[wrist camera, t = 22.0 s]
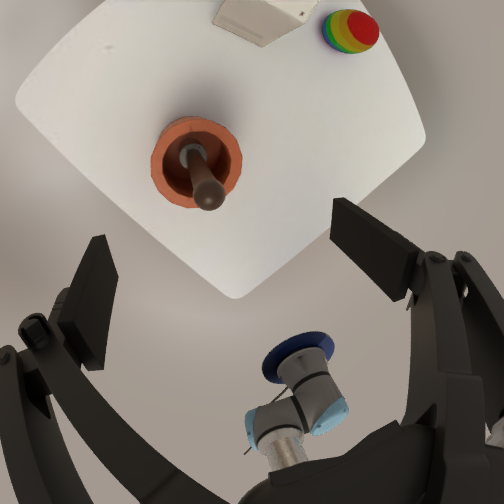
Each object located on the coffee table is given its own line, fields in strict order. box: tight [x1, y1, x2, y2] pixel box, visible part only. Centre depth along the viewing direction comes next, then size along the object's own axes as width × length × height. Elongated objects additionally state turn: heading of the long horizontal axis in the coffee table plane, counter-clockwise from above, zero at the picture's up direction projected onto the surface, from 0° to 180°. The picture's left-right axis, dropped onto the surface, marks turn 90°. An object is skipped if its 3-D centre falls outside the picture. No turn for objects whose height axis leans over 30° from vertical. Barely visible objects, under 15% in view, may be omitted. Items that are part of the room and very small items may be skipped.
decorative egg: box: [323, 9, 379, 54], centre depth 30 cm, size 8×8×10 cm
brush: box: [178, 138, 225, 211], centre depth 29 cm, size 4×4×23 cm
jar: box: [151, 117, 242, 208], centre depth 34 cm, size 10×10×12 cm
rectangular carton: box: [212, 0, 320, 47], centre depth 23 cm, size 9×9×15 cm
